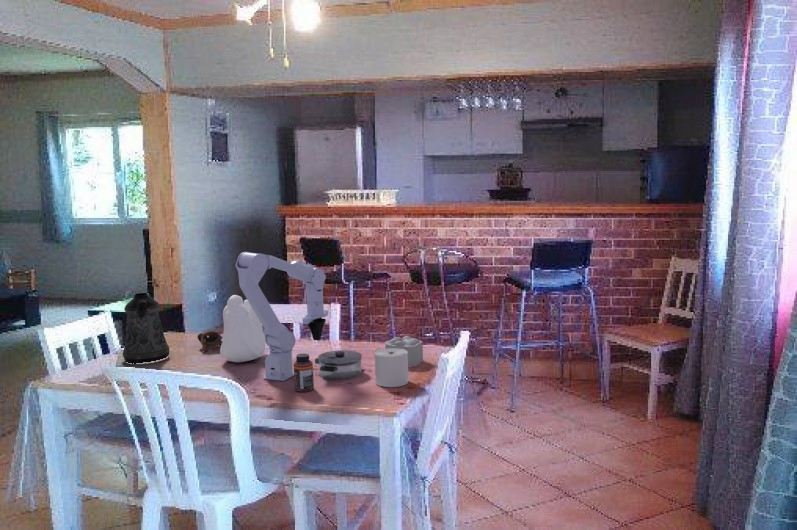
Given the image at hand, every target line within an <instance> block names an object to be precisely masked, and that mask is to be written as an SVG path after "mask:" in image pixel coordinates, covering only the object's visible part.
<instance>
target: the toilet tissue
mask: <svg viewBox="0 0 797 530" xmlns="http://www.w3.org/2000/svg"><path fill="white" fill-rule="evenodd" d="M374 374H375V384H376V386H379V387H382V386H383V387H384V388H398V387H402V386H406V385H407V384H409V382H410V381H409V367H408V352H407V351H406V350H404V349H399V348H388V349H385V348H383V349H382V348H381V349H380V347H377V348H375V350H374Z"/></svg>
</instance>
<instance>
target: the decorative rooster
mask: <svg viewBox="0 0 797 530" xmlns="http://www.w3.org/2000/svg"><path fill="white" fill-rule="evenodd" d="M222 318H223V319H222V320H223V335H222V337H223V338H222V339H221V340H222V342H223V343H222V344H221V346H220V349H219V354H220V356H221V357H222V358H225V359H226V361H228V362H232V363H244V362H248V361H253V360H256V359H259V358H260V357H262V356H264V353H265V350H266V342H265V336H264V334H263V330H264V329H263V328H264V327H263V325H262V323H261V322H260V320H259V318H258V317H257V315H256V313H255V312H254V310H253V308H252V307H251V305H250V303H249V301H248V300H247V299H244V300H243V297H242V296H240V295H237V294H233V295H231V296H230V297H229V298H228V299H227V302H226V305H225V307H224V308H223V311H222Z"/></svg>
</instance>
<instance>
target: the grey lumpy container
mask: <svg viewBox="0 0 797 530" xmlns="http://www.w3.org/2000/svg"><path fill="white" fill-rule="evenodd" d="M384 345H385V346H384V347H385V348H384V349H388V348H399V349H404V350H406V351H407V352H408V366H415V367H418V366H419V365H420V364H422V363H423V362H424V347H423V345H424V344H423V340H420V339H418V338H413V337H411V336H410V335H406V336H403V337H399V336H395V337H393V338H392V339H388V340H386V341H385V342H384ZM421 362H422V363H421ZM419 363H420V364H419ZM417 365H418V366H417Z"/></svg>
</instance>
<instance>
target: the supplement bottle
mask: <svg viewBox="0 0 797 530" xmlns="http://www.w3.org/2000/svg"><path fill="white" fill-rule="evenodd" d="M295 357H296V358H295V360H296V361H294V363H293V371H294V376H293V379H294V390H295V391H296V392H298V391H299V392H298V393H307V391H308V392H311V391H312V390H314V387H315V385H314V384H315V383H314V381H315V380H314V364H313V363H314V362H313V361H311V360H310V354H308V353H299V354H296V356H295Z"/></svg>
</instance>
